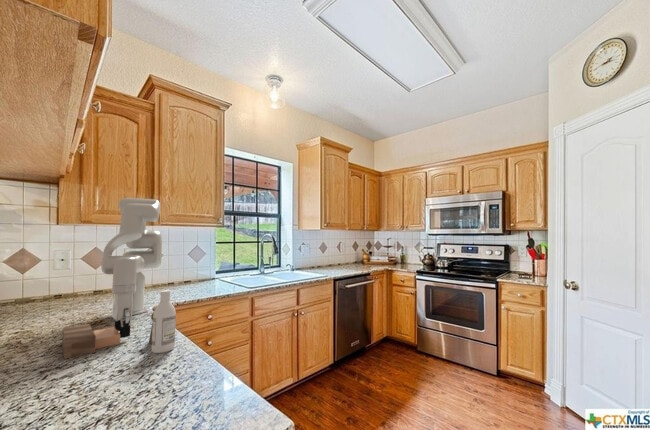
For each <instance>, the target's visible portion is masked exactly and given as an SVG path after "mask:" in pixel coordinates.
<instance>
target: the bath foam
mask: <svg viewBox="0 0 650 430" xmlns="http://www.w3.org/2000/svg"><path fill="white" fill-rule="evenodd" d="M159 300H160V301H159V303H158V305H157V306H156V308H154V311H153V312H154V314H153V321H152V322H153V327H152V326H151V328H152V344H151V352H152V353H154V354H163V353H167V352H169V351H172V350H173V349H174V348H175V342H176V320H177V313H176V312H177V311H176V309H175V308H176V307H175V306H174V304H173V303H172V302H171V290H169V289H165V290H161V291H160V299H159Z"/></svg>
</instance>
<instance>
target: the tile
mask: <svg viewBox="0 0 650 430" xmlns="http://www.w3.org/2000/svg"><path fill="white" fill-rule="evenodd" d="M93 332H94V334H95V336H96V337H95V350H96V349H101V348H107V347H109V346H110V347H111V346H115V345H118V344H121V338H120V331H117V330H116V328H115V326H113V327H109V328H101V329H97V330H93Z"/></svg>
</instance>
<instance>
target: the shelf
mask: <svg viewBox="0 0 650 430" xmlns="http://www.w3.org/2000/svg"><path fill="white" fill-rule="evenodd" d="M93 331H94V330H93V328H92V326H91V324H90V323H86V324H81V325H75V326H68V327H63V328H62V335H61V337H62V338H61V346H62V352H63V353H62V354H63V357H64V359H70V358H74V357H79V356H84V355H88V354H90V353H91V354H92V353H95V352H96V349H95V337H96V336H95V334H94V332H93Z"/></svg>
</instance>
